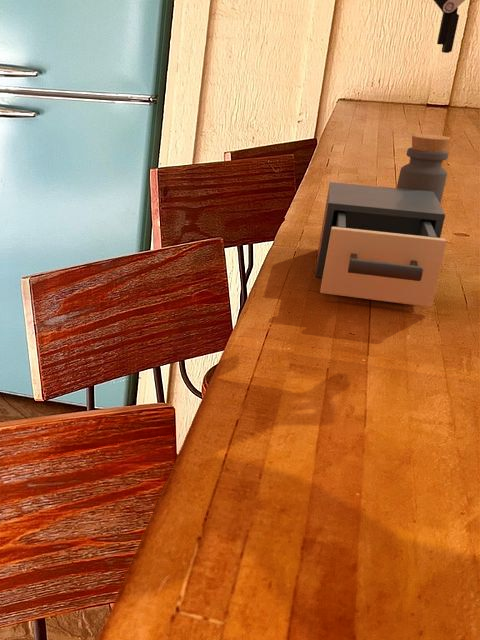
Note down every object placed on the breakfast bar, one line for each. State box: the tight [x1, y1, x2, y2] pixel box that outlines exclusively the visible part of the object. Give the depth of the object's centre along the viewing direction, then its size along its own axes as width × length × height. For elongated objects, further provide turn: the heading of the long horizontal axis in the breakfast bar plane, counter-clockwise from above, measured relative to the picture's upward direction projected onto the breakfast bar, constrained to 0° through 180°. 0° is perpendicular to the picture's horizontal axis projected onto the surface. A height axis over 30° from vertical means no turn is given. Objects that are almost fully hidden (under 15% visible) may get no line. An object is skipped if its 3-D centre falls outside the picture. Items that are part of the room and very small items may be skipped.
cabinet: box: [315, 181, 446, 279], centre depth 110 cm, size 15×13×9 cm
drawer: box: [319, 211, 448, 308], centre depth 99 cm, size 18×11×7 cm, turn 160°
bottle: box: [396, 133, 451, 206], centre depth 121 cm, size 6×6×15 cm
